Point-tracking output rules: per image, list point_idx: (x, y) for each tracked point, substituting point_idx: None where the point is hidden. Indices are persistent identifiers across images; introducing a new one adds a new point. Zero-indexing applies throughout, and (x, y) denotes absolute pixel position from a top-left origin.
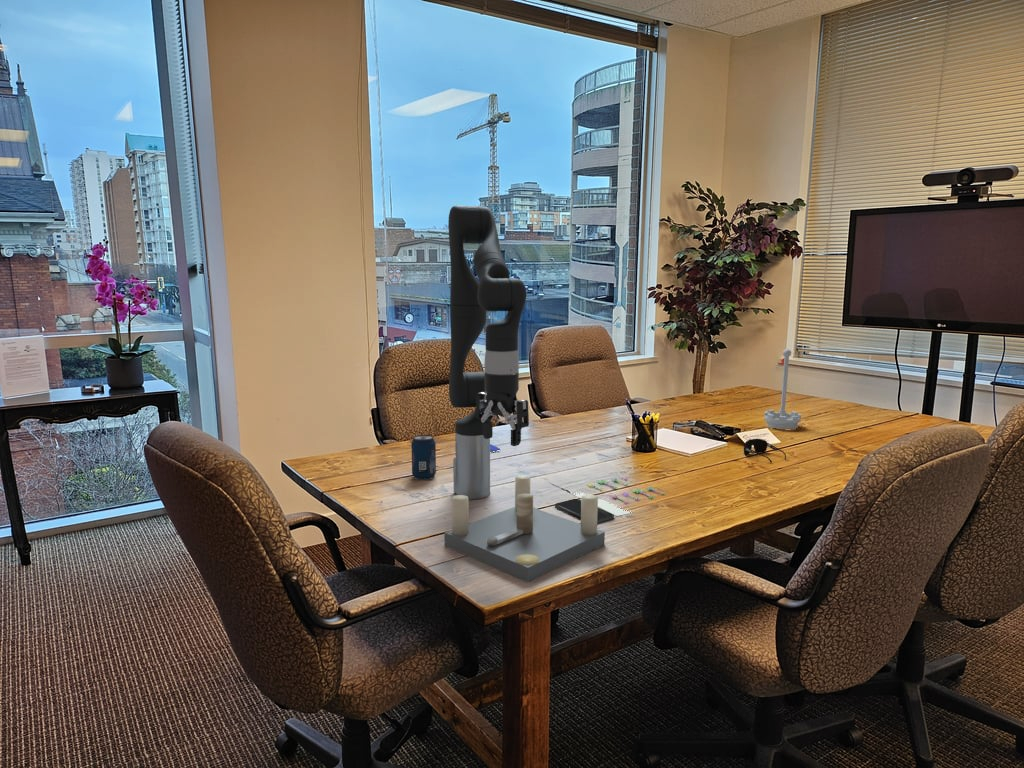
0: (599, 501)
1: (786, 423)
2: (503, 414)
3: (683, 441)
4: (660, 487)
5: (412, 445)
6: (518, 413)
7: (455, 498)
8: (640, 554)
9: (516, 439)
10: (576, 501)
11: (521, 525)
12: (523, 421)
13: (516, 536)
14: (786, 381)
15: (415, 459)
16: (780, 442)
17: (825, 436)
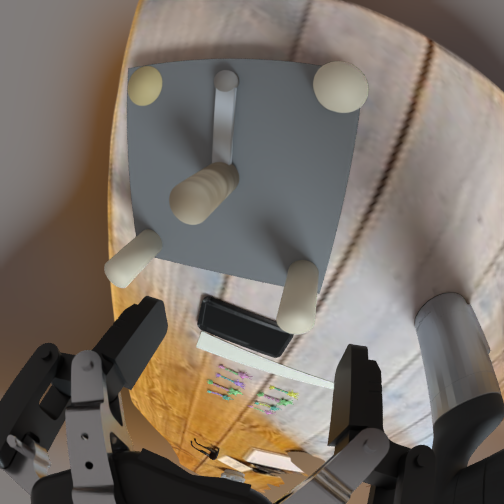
0: (251, 362)
1: (226, 473)
2: (99, 450)
3: (276, 462)
4: (224, 402)
5: None
6: (13, 407)
7: (348, 74)
8: (109, 241)
9: (118, 318)
10: (272, 351)
11: (211, 164)
12: (68, 397)
13: None
14: None
15: None
16: (217, 459)
17: (203, 462)
